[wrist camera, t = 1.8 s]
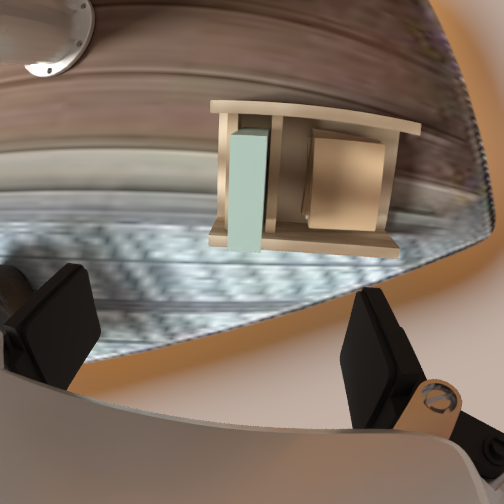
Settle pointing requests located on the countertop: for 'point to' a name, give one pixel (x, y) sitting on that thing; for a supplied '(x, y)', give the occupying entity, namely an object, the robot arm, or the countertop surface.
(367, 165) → the offcut
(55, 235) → the countertop surface
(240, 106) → the rack
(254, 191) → the pale green slab
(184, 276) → the countertop surface
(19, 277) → the pitcher
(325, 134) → the offcut
